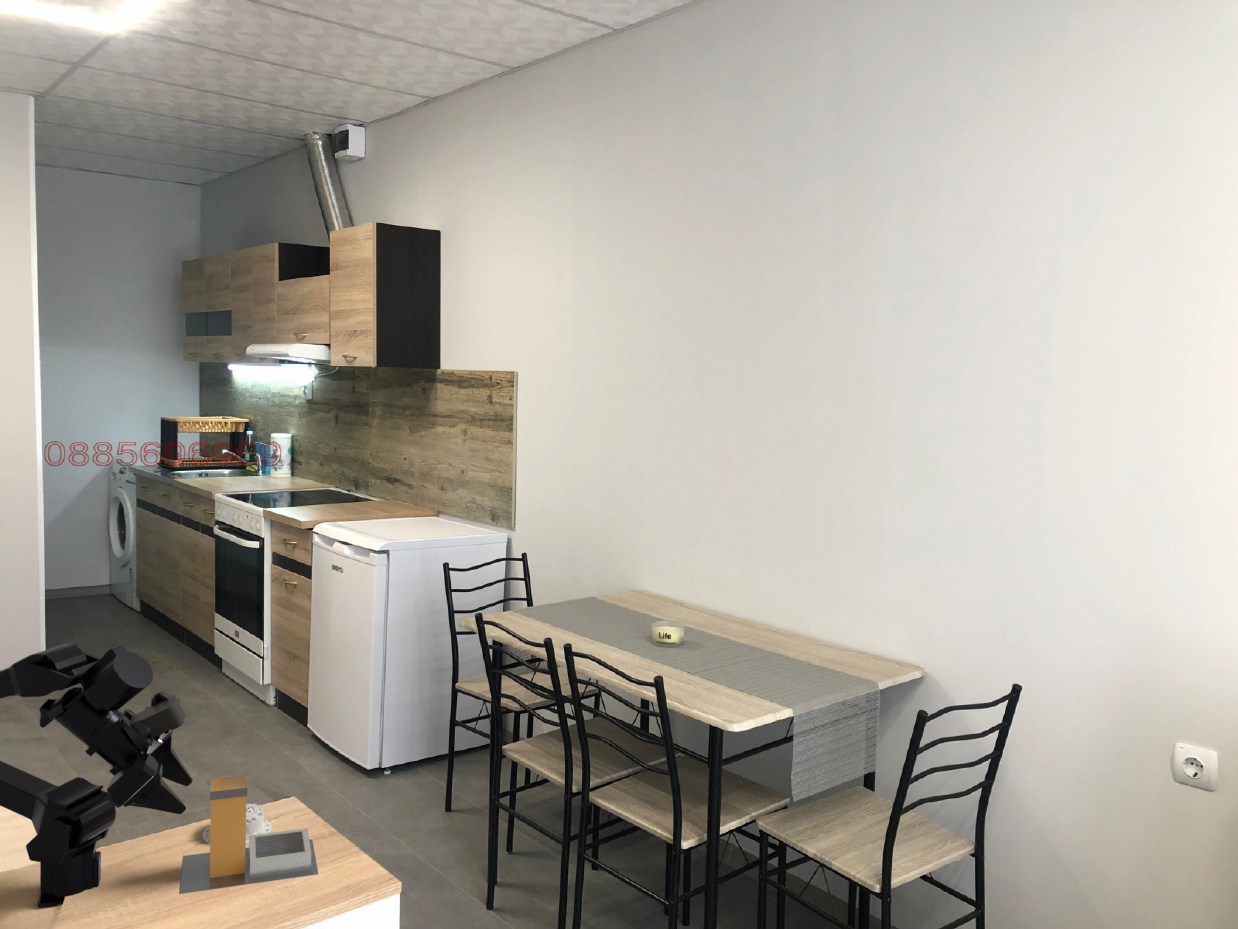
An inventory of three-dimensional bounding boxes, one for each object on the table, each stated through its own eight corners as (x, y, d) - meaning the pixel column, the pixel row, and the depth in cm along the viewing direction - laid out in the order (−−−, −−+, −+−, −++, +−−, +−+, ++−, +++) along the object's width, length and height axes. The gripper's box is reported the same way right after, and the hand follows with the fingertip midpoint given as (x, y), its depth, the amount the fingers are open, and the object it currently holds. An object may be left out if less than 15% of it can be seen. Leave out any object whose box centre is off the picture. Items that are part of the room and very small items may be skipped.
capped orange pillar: (208, 878, 132) (210, 792, 131) (209, 862, 137) (210, 778, 136) (245, 873, 134) (247, 787, 133) (244, 857, 138) (246, 774, 138)
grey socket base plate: (179, 900, 128) (179, 876, 128) (183, 862, 138) (183, 839, 138) (318, 880, 135) (318, 857, 135) (312, 845, 145) (312, 823, 145)
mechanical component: (189, 840, 146) (224, 861, 139) (190, 812, 145) (224, 833, 139) (249, 819, 153) (284, 838, 147) (249, 792, 153) (284, 811, 147)
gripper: (137, 704, 120) (228, 781, 124) (156, 662, 137) (235, 731, 142) (65, 769, 118) (161, 845, 122) (94, 717, 135) (177, 786, 140)
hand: (187, 797), depth 132 cm, fingers open, 9 cm apart
